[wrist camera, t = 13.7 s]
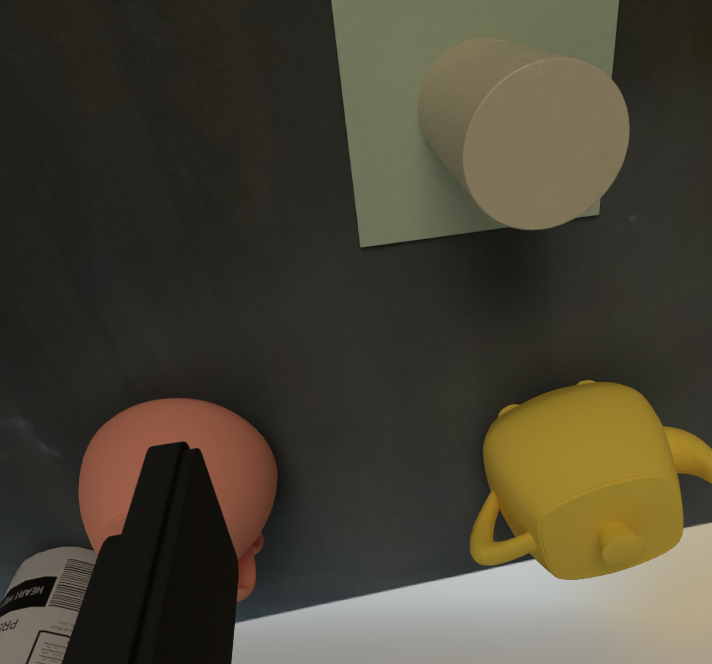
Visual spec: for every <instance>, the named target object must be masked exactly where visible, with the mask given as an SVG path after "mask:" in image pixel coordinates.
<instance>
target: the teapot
mask: <svg viewBox="0 0 712 664" xmlns="http://www.w3.org/2000/svg"><path fill="white" fill-rule="evenodd" d="M483 458H484V466H485V472H486V477H487V480H488V484H489V487H490V490H491V492H490V494H489V496H488V498H487V499H486V501H485V503H484V505H483V507H482V509H481V511H480V513H479V515H478V517H477V519H476V521H475V523H474V526H473V529H472V532H471V537H470V551H471V555H472V557H473V558H474V560H475V561H476V562H478V563H479V564H481V565H486V566H490V565H498V564H502V563H505V562H508V561H511V560H514V559H517V558H519V557H521V556H524V555H526V554H528V553H530V554H531V555H532V556H533V557H534V558H535V559H536V560H537V561H538V562H539V563H540V564H541V565H542V566H543V567H544V568H545V569H547V570H548V571H549V572H550V573H551V574H552V575H554V576H555V577H557V578H559V579H566V580H577V579H585V578H592V577H596V576H601V575H606V574H610V573H614V572H617V571H621V570H624V569H627V568H630V567H633V566H636V565H639V564H641V563H644V562H646V561H649V560H651V559H653V558H656V557H658V556H660V555H662V554H664V553H666V552H667V551H669V550H670V549H672V548H673V547H674V546H675V545H677V544H678V542H679V541H680V539H681V537H682V533H683V510H682V500H681V492H680V486H679V481H678V476H677V473H683V474H691V475H696V476H698V477H701V478H703V479H705V480H707V481H708V482H710V483H711V484H712V449H711V448H710V447H709V446H708V445H707V444H706V443H704V442H703V441H702V440H701V439H699V438H698V437H696V436H695V435H693V434H691V433H689V432H687V431H684V430H681V429H677V428H673V427H665V426H662V424H661V422H660V420H659V418H658V416H657V415H656V413H655V411H654V410H653V408H652V407H651V405H650V404H649V403H648V401H647V400H646V399H645V398H644V396H643V395H642V394H641V393H639V392H638V391H636V390H635V389H633V388H630V387H628V386H625V385H621V384H617V383H609V382H595V381H592V380H585V381H582V382H580V383H578V384H576V385H574V386H569V387H565V388H560V389H557V390H553V391H550V392H547V393H544V394H542V395H539V396H537V397H534V398H532V399H530V400H528V401H526V402H524V403H522V404H520V405H517V404H514V405H509V406H507V407H505V408H504V409H502V410H501V412H500V413H499V415H498V418H497V419H496V420H495V421H494V422H493V423H492V424H491V426H490V427H489V429H488V432H487V434H486V436H485V440H484V445H483ZM499 509H500V511H501V513H502V515H503V517H504V519H505V520H506V522H507V524H508V525H509V527H510V529H511V530H512V532H513V534H514V535H515V538H512V539H509V540H506V541H502V542H494V540H493V532H494V525H495V521H496V518H497V515H498V512H499Z"/></svg>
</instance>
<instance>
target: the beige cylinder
mask: <svg viewBox="0 0 712 664" xmlns="http://www.w3.org/2000/svg"><path fill="white" fill-rule="evenodd" d="M418 117H419V124H420V128H421V131H422V133H423V136H424V138H425V140H426V141H427V143H428V145H429V146H430V147H431V149H432V150H433V151H434V152H435V153H436V155H437V156H438V157H439V158H440V160H441V161H442V162H443V163H444V165H445V166H446V167H447V168H448V169H449V171H450V172H451V173H452V174H453V176H454V177H455V178H456V179H457V180H458V182H459V183H460V184H461V185H462V187H463V188H464V189H465V190H466V192H467V193H468V194H469V195H470V196H471V198H472V199H473V200H474V201H475V203H476V204H477V205H478V206H479V207H480V209H481V210H482V211H484V212H485V213H486V214H487V215H488V216H489V217H491V218H492V219H494V220H495V221H497V222H499V223H501V224H503V225H506V226H509V227H512V228H516V229H522V230H540V229H546V228H551V227H555V226H558V225H561V224H564V223H566V222H568V221H570V220H573V219H574V218H576V217H578V216H579V215H581V214H583V213H584V212H585V211H587V210H588V209H589V208H591V207H592V206H593V205H594V204H595V203H596V202H597V201H598V200H599V199H600V198H601V197H602V196H603V195H604V194H605V193H606V191H607V190H608V189H609V187H610V186H611V184H612V183H613V182H614V180H615V178H616V176H617V175H618V173H619V171H620V169H621V166H622V164H623V161H624V158H625V155H626V152H627V147H628V142H629V129H630V127H629V116H628V111H627V107H626V103H625V101H624V98H623V96H622V94H621V92H620V90H619V88H618V87H617V85H616V84H615V83H614V82H613V80H612V79H611V78H610V77H609V76H608V75H607V74H606V73H605V72H603V71H602V70H601V69H599V68H598V67H596V66H594V65H592V64H590V63H588V62H585V61H583V60H579V59H575V58H571V57H567V56H563V55H559V54H556V53H552V52H548V51H544V50H540V49H536V48H533V47H529V46H525V45H521V44H517V43H513V42H509V41H506V40H502V39H498V38H492V37H479V38H474V39H469V40H466V41H464V42H461V43H459V44H457V45H455V46H453V47H452V48H451V49H449V50H448V51H446V52H445V53H444V54H443V55H442V56H441V57H440V58H439V59H438V60H437V61H436V62H435V63H434V65H433V66H432V67H431V69H430V70H429V72H428V74H427V76H426V78H425V80H424V82H423V85H422V87H421V91H420V95H419V102H418Z"/></svg>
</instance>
